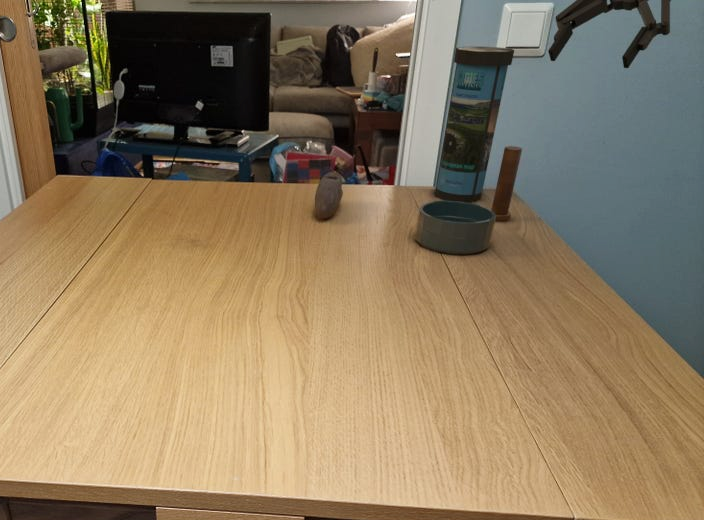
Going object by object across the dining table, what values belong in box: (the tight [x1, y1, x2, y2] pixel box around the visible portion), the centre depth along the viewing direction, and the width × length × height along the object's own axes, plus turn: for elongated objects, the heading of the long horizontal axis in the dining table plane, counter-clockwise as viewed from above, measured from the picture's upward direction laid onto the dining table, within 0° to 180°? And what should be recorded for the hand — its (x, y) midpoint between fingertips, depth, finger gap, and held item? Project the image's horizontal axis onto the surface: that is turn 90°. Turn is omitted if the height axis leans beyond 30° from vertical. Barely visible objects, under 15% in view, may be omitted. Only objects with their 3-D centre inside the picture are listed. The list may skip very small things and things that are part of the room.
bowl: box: [414, 200, 496, 256], centre depth 121 cm, size 13×13×6 cm
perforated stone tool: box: [314, 171, 344, 219], centre depth 136 cm, size 15×5×7 cm, turn 162°
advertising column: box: [434, 46, 515, 203], centre depth 141 cm, size 11×11×30 cm
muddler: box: [491, 145, 523, 223], centre depth 132 cm, size 4×4×14 cm
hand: (586, 59), depth 121 cm, fingers open, 13 cm apart
